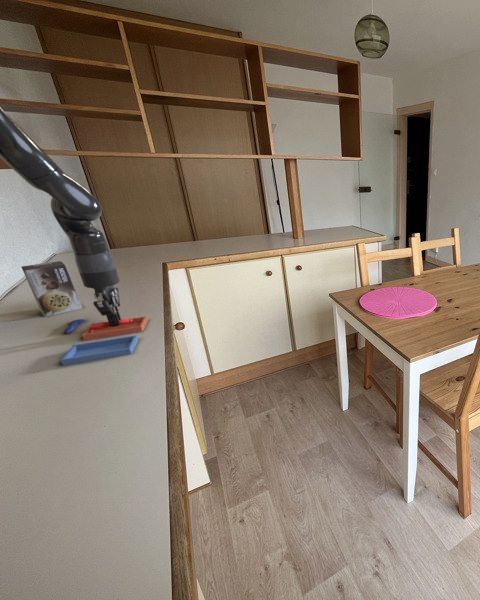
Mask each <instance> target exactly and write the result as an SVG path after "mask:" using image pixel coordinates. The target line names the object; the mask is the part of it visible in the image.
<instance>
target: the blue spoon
mask: <svg viewBox="0 0 480 600" xmlns="http://www.w3.org/2000/svg"><path fill="white" fill-rule="evenodd" d="M68 323H69V326H68V327H67V328H66V329H65V330H64V331H63V334H65V335H69V334H71V333H72V332H73V331H74V330H75V329H76V328H77V327H78V326H79V325H81V324H84V323H86V320H85V319H82V318H81V319H80V318H79V319H75V320H72V321H70V322H68Z"/></svg>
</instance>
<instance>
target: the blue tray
mask: <svg viewBox="0 0 480 600" xmlns="http://www.w3.org/2000/svg"><path fill="white" fill-rule="evenodd" d="M138 342H139V337H138V335H136V334H135V335H129V336H122V337H116V338H110V339H103V340H96V341H90V342H83V343H78V344H77V343H76V344H72V346H71V347H70V349H68V351H67V352H66V353H65V354H64V355H63V357H61V359H60V363H61V365H62V366H65V367H66V366H69V365H77V364H82V363H87V362H93V361H99V360H104V359H110V358H116V357H121V356H127V355H132V353H133V352H134V349H135V348H136V346H137V344H138Z"/></svg>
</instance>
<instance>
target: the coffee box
mask: <svg viewBox="0 0 480 600" xmlns="http://www.w3.org/2000/svg"><path fill="white" fill-rule="evenodd" d="M21 270H22V271H23V274H24V276H25V278H26V280H27V281H26V282H27V283H28V286H29V288H30V291H31V292H32V294H33V297H34V299H35V301H36V304H37V306H38V308H39V311H40V313H41V314H42V316H43V317H50V316H54V315H59V314H63V313H69V312H72V311H73V312H74V311H76V310H77V311H78V310H81V309H83V306H82V304H81V301H80V299H79V296H78V293H77V291H76V289H75V285H74V283H73V281H72V278H71V276H70V273H69V271H68V267H67V265H66V264H65V263H64V262H63V261H61V260H59V261H51V262H44V263H37V264H29V265H22V266H21Z"/></svg>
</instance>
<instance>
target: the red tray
mask: <svg viewBox="0 0 480 600" xmlns="http://www.w3.org/2000/svg"><path fill="white" fill-rule="evenodd" d="M124 319H125V318H123V319H122V320H124ZM129 319H132V320H133V322H132V323H129V324H122V325H119V326H114V327H111V326H107V327H104V328H102V329H99V330H91V329H90V327H87V329H86V330H84V332H83V333H82V334H81V337H82V340H83V341H88V340H94V339H102V338H108V337H115V336H122V335H128V334H134V333H135V334H136V333H141V332H142V333H143V331H144V329H145V328H146V325H147V323H148V322H149V320H148V317H147V316H139V317H129ZM95 323H96V322H93V323H91V324H90V325H92V324H95Z"/></svg>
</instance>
